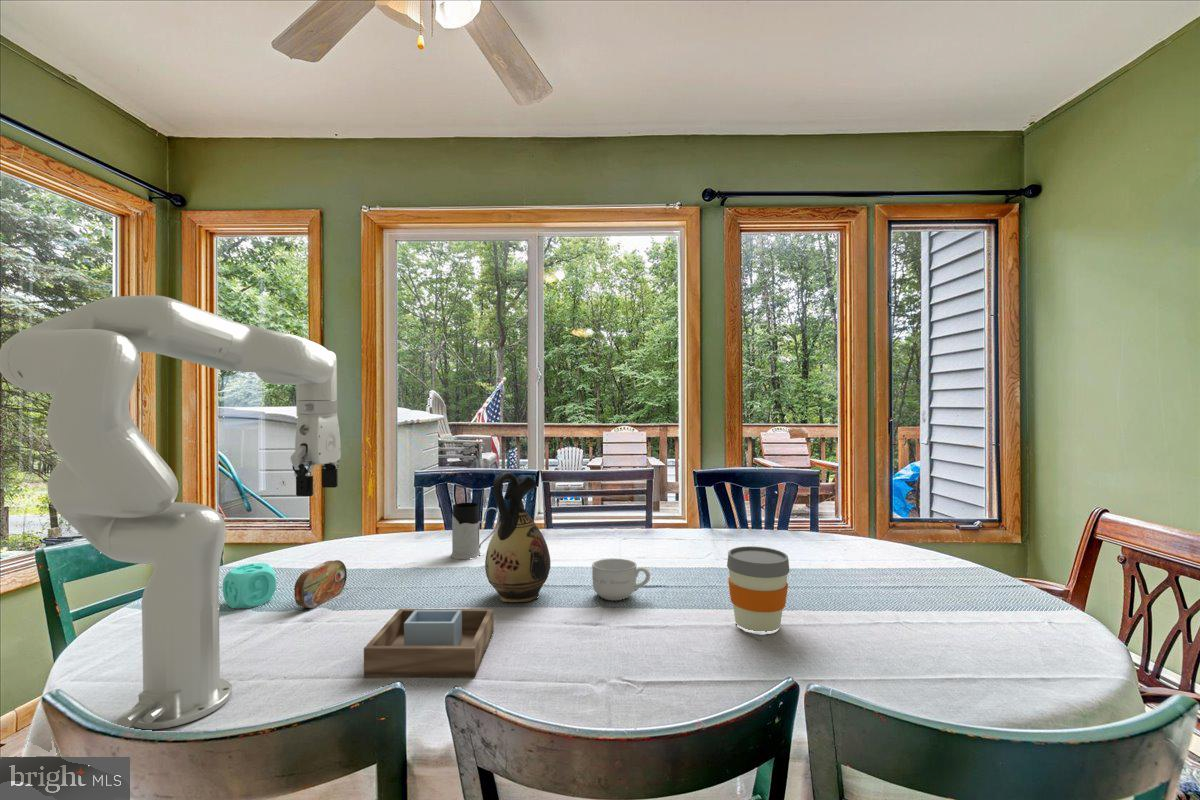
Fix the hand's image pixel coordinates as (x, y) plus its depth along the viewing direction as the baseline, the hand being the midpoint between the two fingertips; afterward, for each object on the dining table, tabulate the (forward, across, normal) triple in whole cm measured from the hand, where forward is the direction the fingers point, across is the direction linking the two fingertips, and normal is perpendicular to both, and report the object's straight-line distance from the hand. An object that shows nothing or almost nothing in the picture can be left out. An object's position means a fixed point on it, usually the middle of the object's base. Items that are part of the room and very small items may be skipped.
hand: (317, 491), depth 115 cm
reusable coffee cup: (+28, +2, -92) cm, 96 cm away
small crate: (+27, -12, -28) cm, 41 cm away
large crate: (+28, -12, -28) cm, 41 cm away
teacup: (+28, +17, -63) cm, 71 cm away
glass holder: (+28, +50, -20) cm, 61 cm away
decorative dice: (+28, +12, +22) cm, 38 cm away
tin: (+28, +13, +7) cm, 32 cm away
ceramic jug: (+28, +16, -38) cm, 50 cm away
